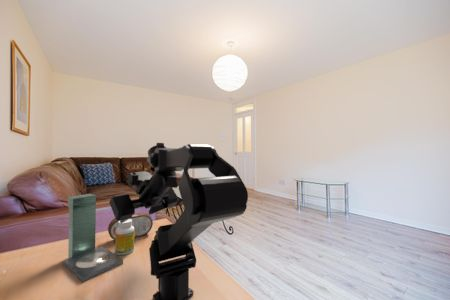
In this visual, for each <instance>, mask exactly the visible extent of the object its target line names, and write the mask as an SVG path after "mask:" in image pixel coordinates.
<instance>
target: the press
mask: <svg viewBox="0 0 450 300" xmlns="http://www.w3.org/2000/svg"><path fill="white" fill-rule="evenodd" d="M67 207H68V255H67V256H68V257H67V258H65V259H63V265H64V266H65V267H66V268H67V269H68V271H69V272H71V274H73V275H74V276H75V277H76V278H77V279H78V280H79V281H80V282H81V283H83V282H86V281H88V280H90V279H93V278H95V277H97V276H99V275H102V274H104V273H105V272H108V271H110V270H113V269H114V268H116V267H119V266H122V265H123V264H124V259H123V258H121V257H120V256H119V255H117V254H116V253H113V252H112V251H110V250H109V249H107V248H106V247H104V246H100V247H97V248H96V225H97V224H96V218H97V214H96V213H97V211H96V210H97V209H96V208H97V194H93V193H86V194H85V193H83V194H80V195H78V194H77V195H70V196H68V197H67Z"/></svg>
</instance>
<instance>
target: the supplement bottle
mask: <svg viewBox="0 0 450 300" xmlns="http://www.w3.org/2000/svg"><path fill="white" fill-rule="evenodd" d="M114 248H115V251H114V252H115V253H114V254H115V255H117V256H125V255H129V254H130V253H133V252H134V250H135V238H134V227H133V226H132V219H128V220H127V221H125V222H123V223H120V221H118V228H117V229H116V240H115V247H114Z"/></svg>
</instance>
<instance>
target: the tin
mask: <svg viewBox="0 0 450 300" xmlns="http://www.w3.org/2000/svg"><path fill="white" fill-rule="evenodd" d="M130 219H132V226H133V227H134V239H135V238H139V237H144V236H146V235H147V234H148V233H150V231H151V230H152V228H153V224H154V223H153V222H154V221H153V219H152V217H151V215H149V213H147V212H137V213H134V215H133V216H132V218H130ZM118 221H120V220H117V219H116V218H115V217H114V218H113V219H112V220H111V221H110V222H109V224H108V226H107V231H108V232H107V233H108V236H109V237H110V238H111V239H113V240H115V241H116V229H117V228H118Z"/></svg>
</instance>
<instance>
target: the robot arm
mask: <svg viewBox="0 0 450 300" xmlns="http://www.w3.org/2000/svg"><path fill="white" fill-rule="evenodd" d="M155 144H156V145H154V146H152V147H150V148H149V149H148V151H147V155H148V156H146V162H147V163H148V164H149V168H150V171H151V172H153V173H152V174H151V172H148V171H135V172H129V173H128V175H127V176H126V179H125V180H126V183H127V184H128V186H130V187H131V186H133V187H135V188H136V190H135V193H136V195H138V198H137V199H133V200H132V198H131V197H130V195H129V193H122V194H116V195H112V197H111V198H110V200H109V202H108V203H109V205H110V208H111V211H112V213H113V215H114V218H116V219H117V220H120V223H123V222H125V221H127V220H128V219H130V218H132V216H133V215H134V214H136V212H135V211H136V210H138V209H142V208H145V209H149V210H148V214H149V215H150V216H152V215H153V214H156V213H159V212H160V211H163V210H166V209H168V208H169V209H170V208H172V206H176V204H178V202H179V197H178V195H177V194H176V192H175V190H174V189H173V188H175V189H177V188H178V191H179V195H180V198H181V200H182V205H183V208H184V209H183V212H182V213H181V214H180V215H179V216H178V218H177V219H176V221H174V223H171V224H164V225H160V226H159V227H157V230H156V231H155V235H154V237H153V240H151V244H150V247H149V250H148V251H149V262H150V263H149V264H150V275H151V276H153V277H155V279H156V280H158V281H157V282H158V283H157V284H158V286H157V288H158V290H157V291H156V292H155V293H153V295H152V299H153V300H187V299H189V298H190V297H192V295H194V293H195V292H194V289H192V288H190V287H189V282H190V278H189V277H190V275H189V274H190V270H189V269H194V268H196V265H197V264H196V263H197V257H196V254H195V250H194V245H193V243H192V242H193V241H194V240H195V239H196V238H197V237H198V236H199V235H201V234H202V233H203V232H204V231H206V229H208V228H209V227H210V226H211V225H212V224H214V223H218V222H221V221H227V220H230V219H233V218H236V217H240V216H242V215H243V214H244V213H245V212H246V210H247V207H248V205H247V204H248V199H249V193H248V190H247V187H246V185H245V184H244V181H243V180H242V178H241V177H240V174H239V172H238V171H237V169H235V167H234V166H233V165H232V164H231V163H229V162H227V161H226V159H224V158H222V157H221V156H220V155H219V154H218V152H217V150H216V149H215V147H214V146H211V145H210V144H203V143H202V144H200V143H199V144H198V143H197V144H196V143H188V144H186V145H183V146H182V147H179V148H169V147H166V146H165V143H164V142H156V143H155ZM190 169H191V170H192V169H208V172H210V173H211V174H212V175H213V176H211V177H193V178H191V176H190V174H189V171H190ZM176 172H182V175H181V176H180V177H181V178H180V181H179V184H178V180H177V179H178V175H177V173H176Z"/></svg>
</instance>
